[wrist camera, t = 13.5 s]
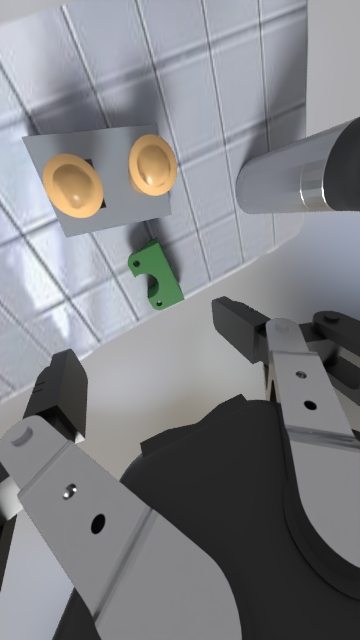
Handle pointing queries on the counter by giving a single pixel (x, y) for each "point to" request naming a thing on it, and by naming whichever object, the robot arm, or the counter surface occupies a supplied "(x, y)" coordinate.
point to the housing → (114, 173)
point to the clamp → (157, 275)
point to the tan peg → (73, 185)
